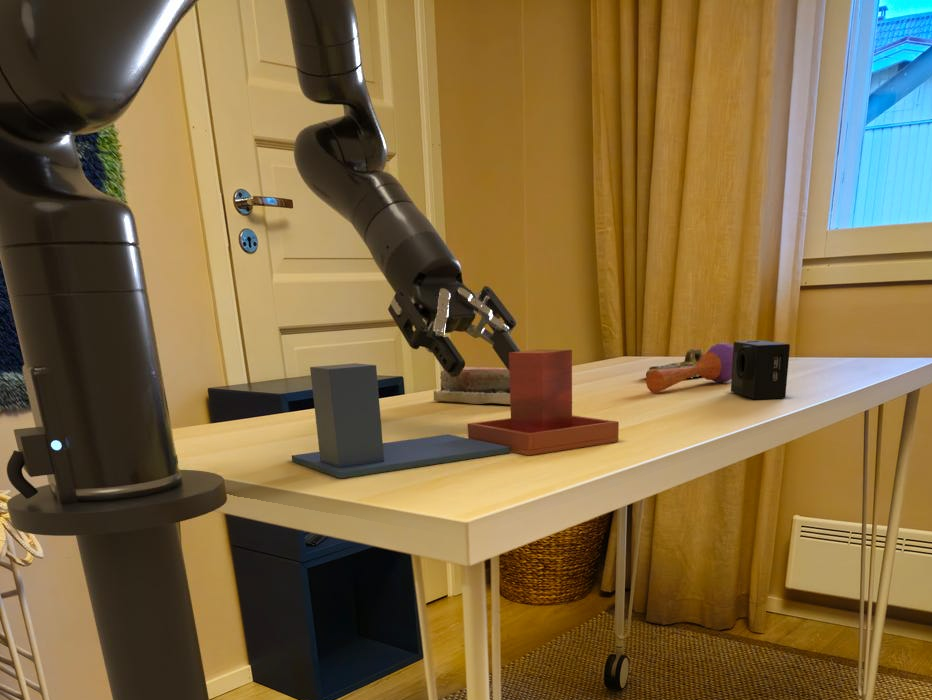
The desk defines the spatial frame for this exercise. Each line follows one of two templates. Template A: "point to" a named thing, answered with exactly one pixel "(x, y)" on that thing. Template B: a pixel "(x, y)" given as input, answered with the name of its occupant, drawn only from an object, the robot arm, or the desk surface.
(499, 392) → the weathered brick on slab
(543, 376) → the red block
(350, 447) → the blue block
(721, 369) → the orange and purple microphone
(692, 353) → the seal
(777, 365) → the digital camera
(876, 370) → the desk surface
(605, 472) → the desk surface
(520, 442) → the red tray
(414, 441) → the blue mat
